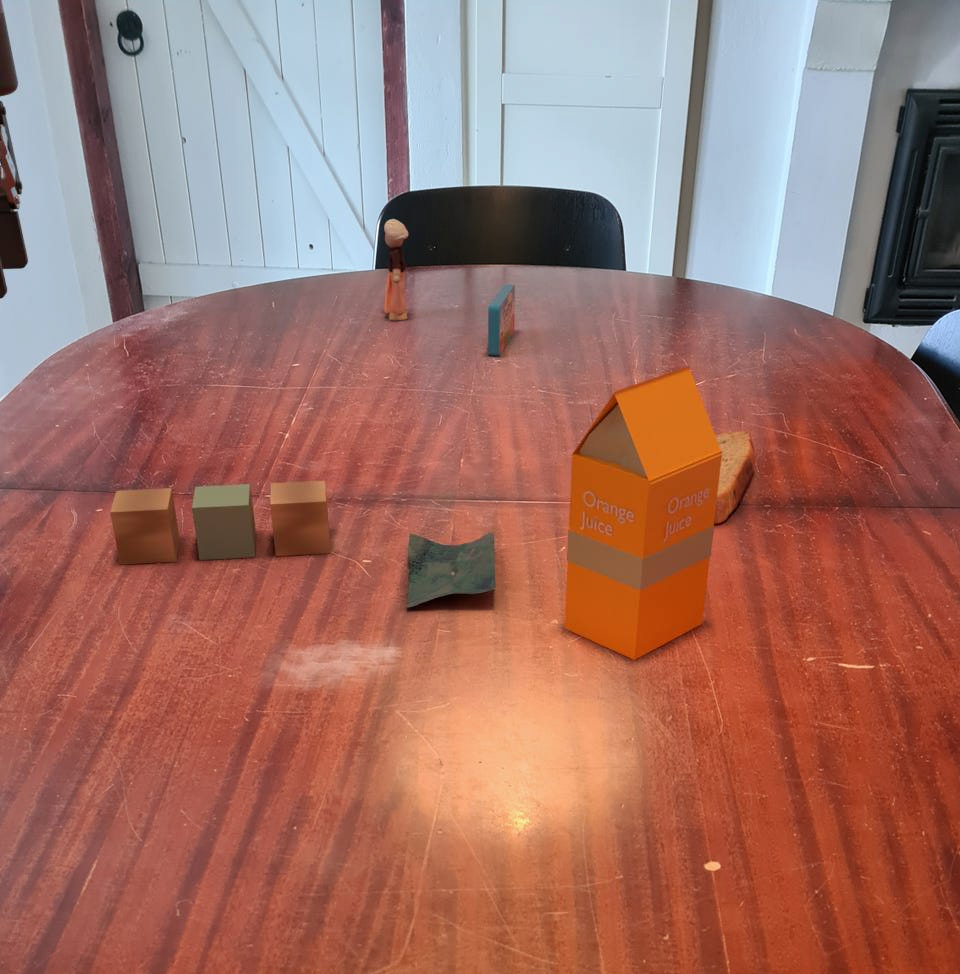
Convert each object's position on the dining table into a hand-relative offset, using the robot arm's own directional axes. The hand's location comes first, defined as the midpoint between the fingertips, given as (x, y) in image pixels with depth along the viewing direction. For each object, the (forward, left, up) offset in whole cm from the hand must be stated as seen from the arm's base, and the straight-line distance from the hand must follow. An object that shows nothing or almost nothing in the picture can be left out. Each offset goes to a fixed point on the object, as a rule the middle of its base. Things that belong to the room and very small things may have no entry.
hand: (2, 282), depth 88 cm
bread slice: (+60, +22, -26) cm, 69 cm away
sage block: (+12, +12, -26) cm, 31 cm away
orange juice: (+46, -8, -26) cm, 54 cm away
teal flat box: (+46, +74, -26) cm, 91 cm away
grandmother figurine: (+33, +89, -26) cm, 98 cm away
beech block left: (+5, +12, -26) cm, 29 cm away
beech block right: (+19, +12, -26) cm, 34 cm away
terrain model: (+32, +3, -26) cm, 42 cm away
